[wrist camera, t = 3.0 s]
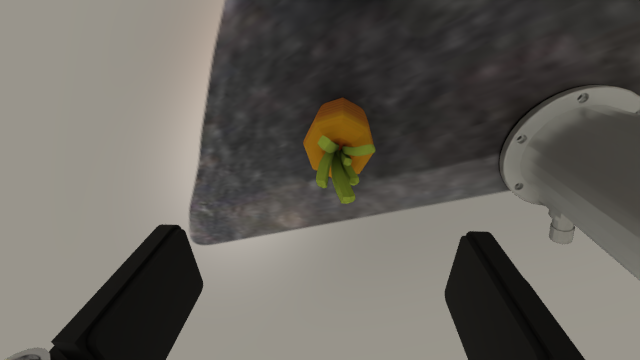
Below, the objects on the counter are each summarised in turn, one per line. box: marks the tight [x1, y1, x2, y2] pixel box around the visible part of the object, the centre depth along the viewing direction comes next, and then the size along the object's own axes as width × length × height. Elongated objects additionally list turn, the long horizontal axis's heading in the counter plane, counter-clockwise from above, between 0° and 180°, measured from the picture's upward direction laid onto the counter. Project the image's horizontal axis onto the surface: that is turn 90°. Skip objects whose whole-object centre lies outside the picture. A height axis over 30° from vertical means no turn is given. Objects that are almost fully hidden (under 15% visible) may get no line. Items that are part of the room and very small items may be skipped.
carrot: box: [303, 98, 375, 204], centre depth 21 cm, size 5×5×15 cm
